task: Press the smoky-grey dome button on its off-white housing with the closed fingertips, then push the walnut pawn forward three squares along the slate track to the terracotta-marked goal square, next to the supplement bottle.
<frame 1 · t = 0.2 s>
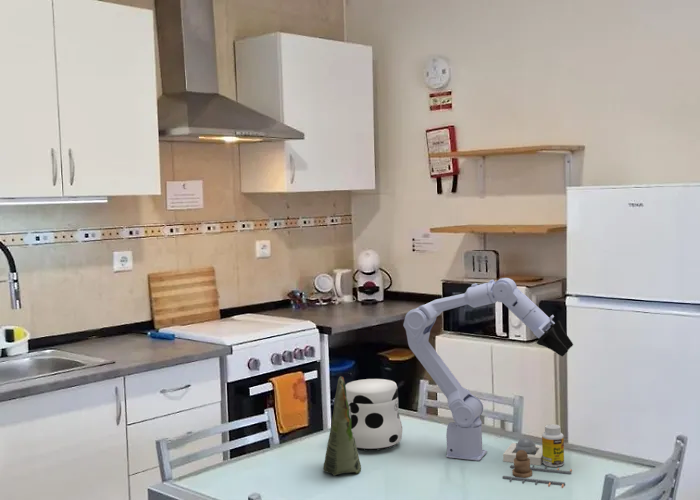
hand: (568, 350, 210), 31 cm above the table, tool tilted 45°, fingers open, 7 cm apart
housing: (526, 457, 220), on the table
supplement bottle: (553, 464, 214), on the table
pouch: (343, 471, 216), on the table
track: (536, 475, 206), on the table
dome: (525, 446, 220), point 3 cm above the table, slide at 0.4 cm
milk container: (373, 446, 236), on the table
pawn: (522, 474, 208), on the table
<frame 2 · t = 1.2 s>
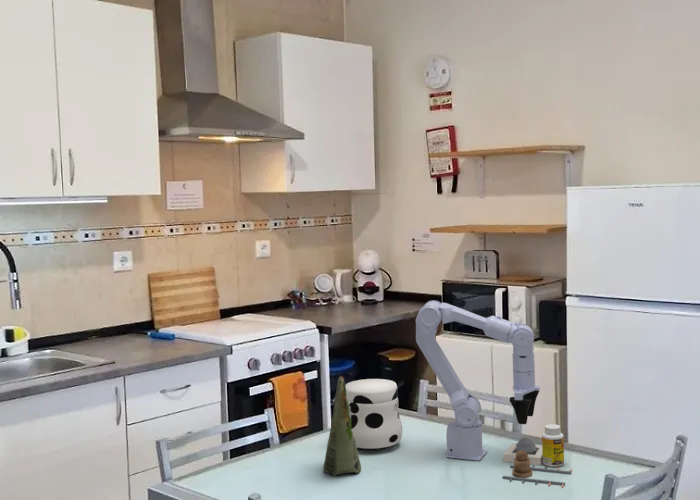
hand: (525, 419, 219), 10 cm above the table, tool pointing down, fingers open, 7 cm apart
nothing on the table moved.
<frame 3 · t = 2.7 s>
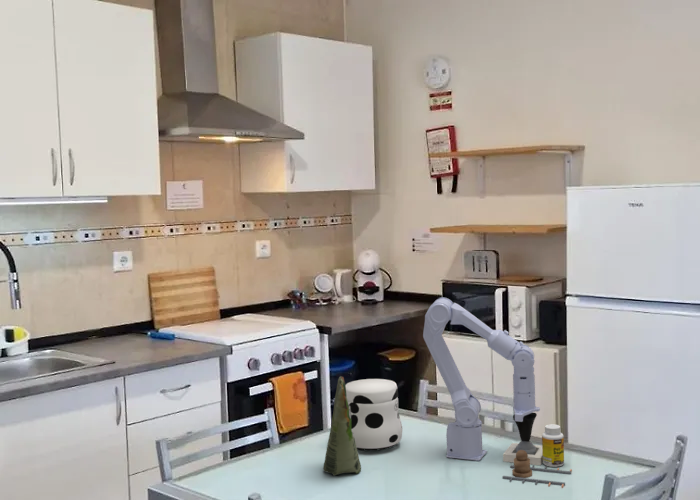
hand: (525, 440, 220), 5 cm above the table, tool pointing down, fingers closed, pressing on dome
dome: (525, 448, 220), point 2 cm above the table, slide at 1.1 cm, touching gripper
everything else where it was.
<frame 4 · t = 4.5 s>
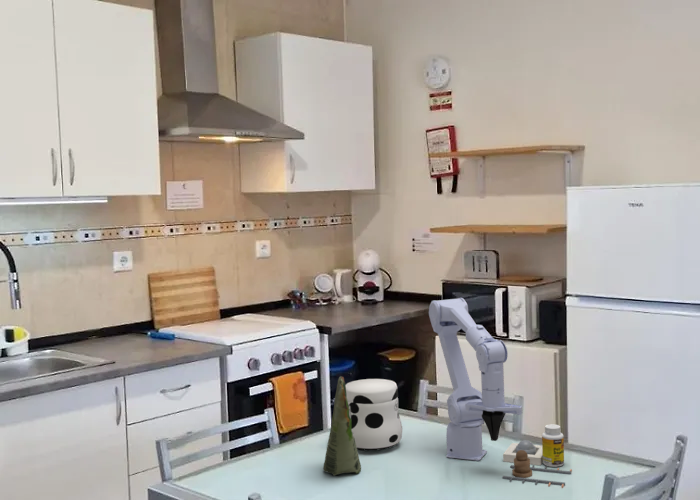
hand: (494, 439, 210), 8 cm above the table, tool pointing down, fingers closed
dome: (525, 448, 220), point 2 cm above the table, slide at 1.1 cm
everything else where it was.
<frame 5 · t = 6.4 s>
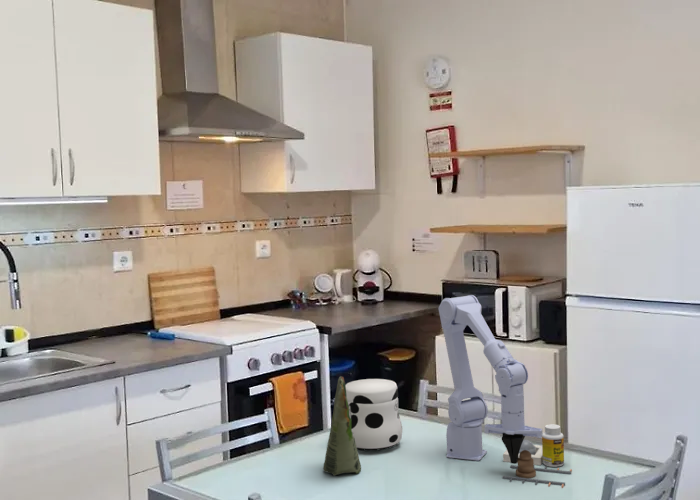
hand: (514, 462, 208), 3 cm above the table, tool pointing down, fingers closed
pawn: (525, 474, 207), on the table, touching gripper
everything else where it was.
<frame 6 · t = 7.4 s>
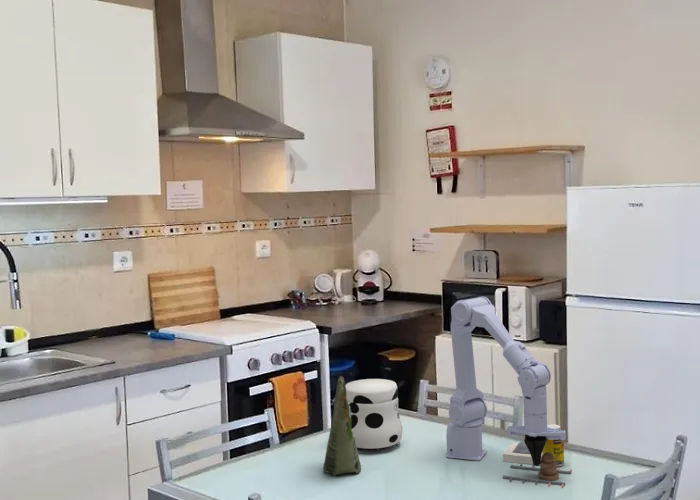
hand: (536, 464, 206), 3 cm above the table, tool pointing down, fingers closed
pawn: (548, 477, 205), on the table, touching gripper
everything else where it was.
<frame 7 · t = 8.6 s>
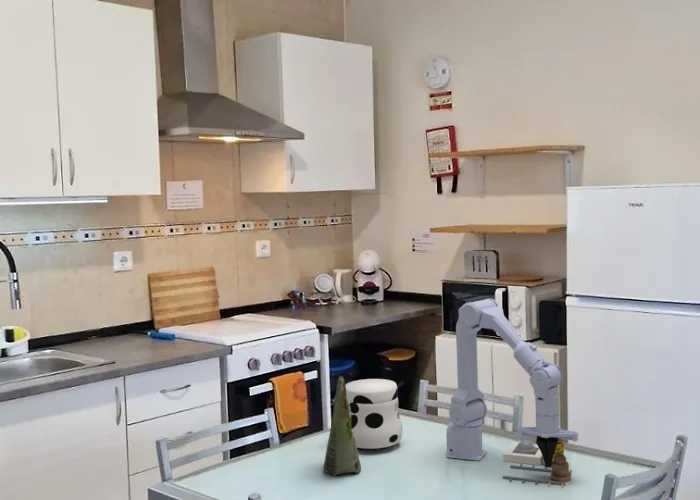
hand: (548, 466, 204), 3 cm above the table, tool pointing down, fingers closed
pawn: (560, 478, 204), on the table, touching gripper
everything else where it was.
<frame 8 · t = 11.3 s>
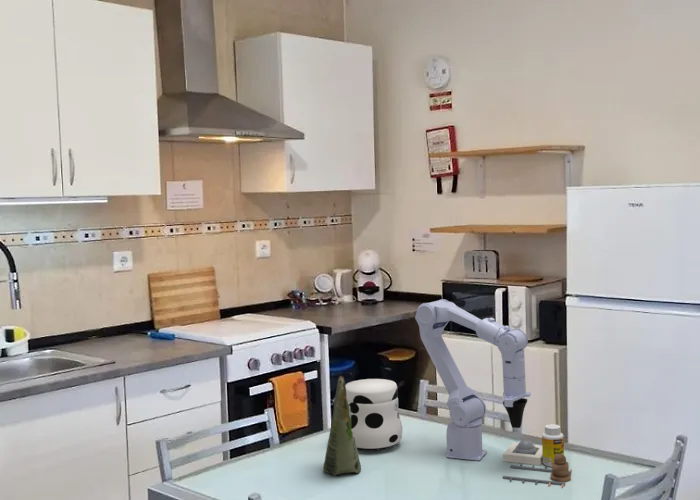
hand: (516, 427, 213), 10 cm above the table, tool pointing down, fingers closed
pawn: (560, 478, 204), on the table
everything else where it was.
at the end: pawn 0.3 cm from the target spot, on the table; pawn tilted 1°; pawn touching table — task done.
